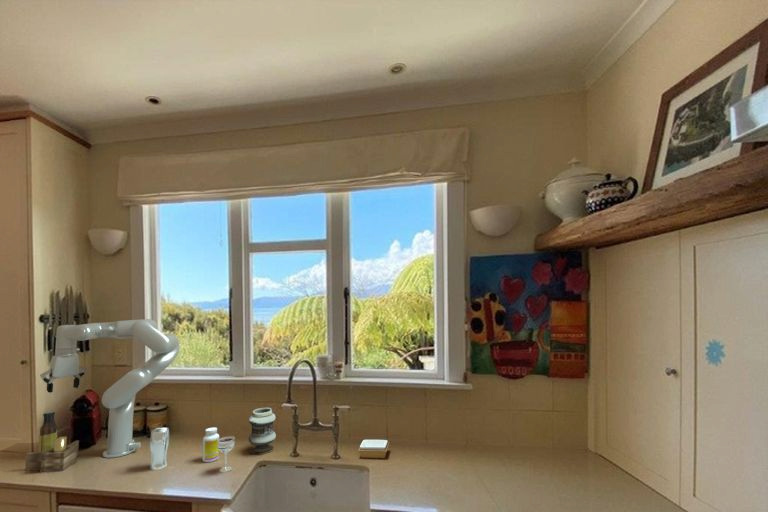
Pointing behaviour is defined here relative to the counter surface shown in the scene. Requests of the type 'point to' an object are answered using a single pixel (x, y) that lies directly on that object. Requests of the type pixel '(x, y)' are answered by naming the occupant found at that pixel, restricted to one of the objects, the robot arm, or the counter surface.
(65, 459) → the wooden crate
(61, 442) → the brass pin
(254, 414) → the apothecary jar
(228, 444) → the wineglass
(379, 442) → the soap dish
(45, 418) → the sauce bottle
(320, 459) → the counter surface
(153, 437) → the beer glass
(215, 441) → the supplement bottle
